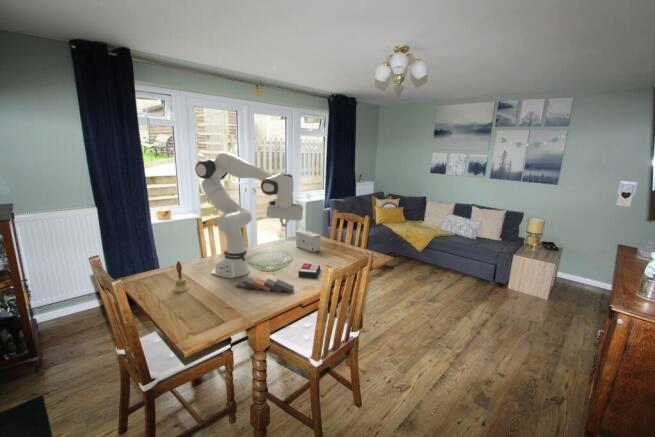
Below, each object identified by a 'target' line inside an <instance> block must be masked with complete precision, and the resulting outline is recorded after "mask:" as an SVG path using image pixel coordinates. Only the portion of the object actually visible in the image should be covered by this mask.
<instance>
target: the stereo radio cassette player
mask: <svg viewBox="0 0 655 437" xmlns="http://www.w3.org/2000/svg"><path fill="white" fill-rule="evenodd" d="M297 224H298V225H299V227H301V228H302V229H298V230H295V246H296V247H297V248H299V249H303V250H305V251H308V252H311V253H315V252H319V251H320V250H321V247H322V246H321V243H322V242H321V241H322V240H321V239H322V238H321V234H318V233H316V232H312V231H309V230H307V229H305V228H304V227H303V226H302V225H301V224H300V223H299V222H298V221H297Z"/></svg>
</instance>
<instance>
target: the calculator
mask: <svg viewBox="0 0 655 437" xmlns="http://www.w3.org/2000/svg"><path fill="white" fill-rule="evenodd" d="M320 269H321V265H320V264H318V263H317V264H315V263H307V262H304V263H303V264H302V266H301V267H300V269H299V270H298V277H299V278H310V279H317V277H318V274H319V272H320V271H321V270H320Z"/></svg>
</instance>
